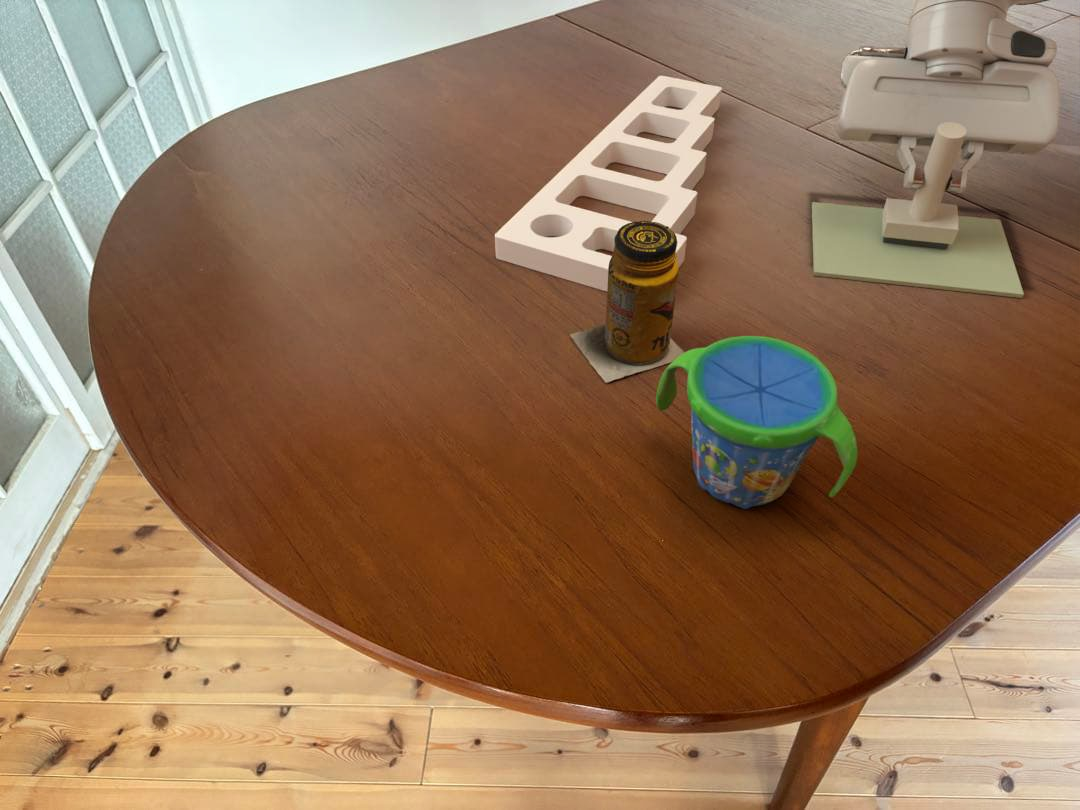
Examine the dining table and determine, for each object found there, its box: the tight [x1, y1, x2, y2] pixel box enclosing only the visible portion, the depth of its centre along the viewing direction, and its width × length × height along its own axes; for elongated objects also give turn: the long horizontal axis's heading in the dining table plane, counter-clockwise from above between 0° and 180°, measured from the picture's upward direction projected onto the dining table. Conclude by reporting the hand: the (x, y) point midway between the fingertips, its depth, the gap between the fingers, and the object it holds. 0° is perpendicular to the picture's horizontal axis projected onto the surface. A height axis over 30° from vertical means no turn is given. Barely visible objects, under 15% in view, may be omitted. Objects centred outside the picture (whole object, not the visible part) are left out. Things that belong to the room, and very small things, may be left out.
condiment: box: [569, 220, 686, 383], centre depth 76 cm, size 7×8×12 cm
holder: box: [494, 75, 723, 292], centre depth 101 cm, size 45×18×3 cm, turn 152°
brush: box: [882, 122, 967, 249], centre depth 86 cm, size 7×4×13 cm, turn 76°
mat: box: [811, 201, 1025, 299], centre depth 91 cm, size 20×14×1 cm
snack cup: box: [655, 335, 858, 510], centre depth 65 cm, size 16×10×10 cm
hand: (934, 188), depth 85 cm, fingers closed on brush, 2 cm apart
